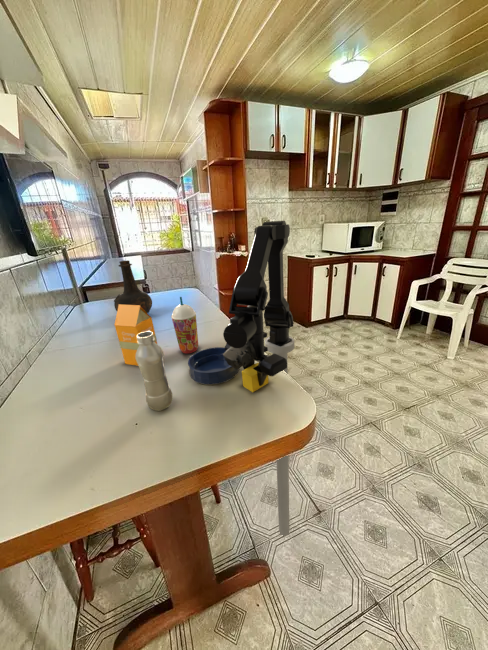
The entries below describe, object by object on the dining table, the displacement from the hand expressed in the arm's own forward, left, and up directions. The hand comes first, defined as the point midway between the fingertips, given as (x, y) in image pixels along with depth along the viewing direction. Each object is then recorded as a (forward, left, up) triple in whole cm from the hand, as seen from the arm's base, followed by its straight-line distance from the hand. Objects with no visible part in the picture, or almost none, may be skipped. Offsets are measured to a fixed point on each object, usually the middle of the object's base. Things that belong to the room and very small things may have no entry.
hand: (255, 382), depth 74 cm
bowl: (+4, -14, -1) cm, 15 cm away
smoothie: (+2, -33, -1) cm, 33 cm away
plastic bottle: (+23, -11, -1) cm, 26 cm away
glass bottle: (+1, -89, -1) cm, 89 cm away
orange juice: (+17, -39, -1) cm, 43 cm away
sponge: (0, 0, -1) cm, 1 cm away
